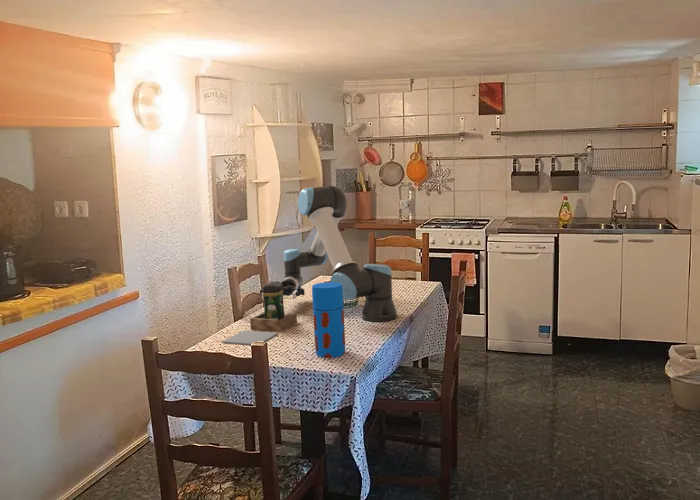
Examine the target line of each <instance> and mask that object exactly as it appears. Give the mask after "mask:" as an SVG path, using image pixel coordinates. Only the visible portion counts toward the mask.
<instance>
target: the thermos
mask: <svg viewBox="0 0 700 500" xmlns="http://www.w3.org/2000/svg"><path fill="white" fill-rule="evenodd" d="M311 294H312V295H311V297H312V316H313V333H314V336H313V337H314V347H315V355H316V356H317V357H319V358H331V359H332V358H338V357H341V356H343V355H345V354H346V331H345V330H346V329H345V311H344V310H345V308H344V300H343V289H342V284H341V283H336V282H330V281H329V282H328V281H327V282H319V283H314V284H312V285H311Z"/></svg>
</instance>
